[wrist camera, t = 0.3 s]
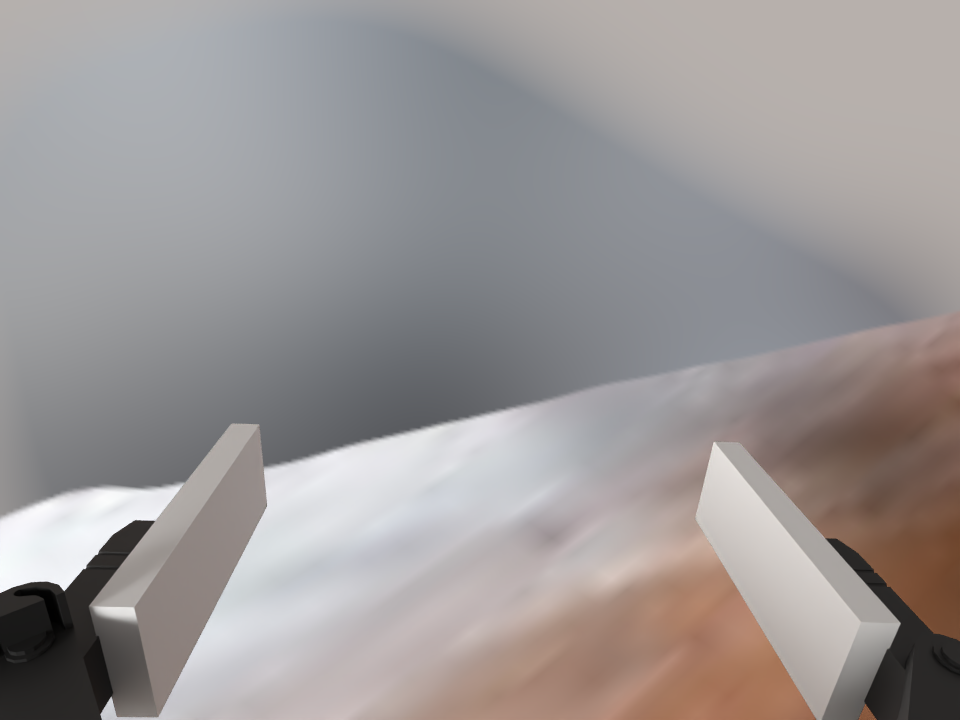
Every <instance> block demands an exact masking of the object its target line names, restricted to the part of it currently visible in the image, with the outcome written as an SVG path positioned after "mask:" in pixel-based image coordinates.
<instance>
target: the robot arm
mask: <svg viewBox="0 0 960 720" xmlns="http://www.w3.org/2000/svg"><path fill="white" fill-rule="evenodd" d="M266 507H267V500H266V490H265V479H264V469H263V458H262V448H261V438H260V427H259V425H256V424H231V425H230V426H229V428H228V429H227V430H226V432H225V433H224V434H223V435H222V437H221V438H220V439H219V440H218V442H217V443H216V444H215V445H214V447H213V448H212V449H211V451H210V452H209V453H208V454H207V456H206V457H205V458H204V460H203V461H202V462H201V463H200V465H199V466H198V467H197V469H196V470H195V471H194V472H193V474H192V475H191V476H190V477H189V479H188V480H187V481H186V483H185V484H184V485H183V486H182V488H181V489H180V490H179V492H178V493H177V494H176V495H175V497H174V498H173V499H172V501H171V502H170V503H169V504H168V506H167V507H166V508H165V509H164V511H163V512H162V513H161V515H160V516H159V517H158V518H157V520H156V521H141V520H135V521H133V522H132V523H130V524H129V525H127V526H126V527H124V528H123V529H121V530H120V531H118V532H117V533H115V534H114V535H112V537H111V538H110V539H109V540H108V541H107V542H106V544H105V545H104V546H103V547H102V548H101V549H100V551H99V553H98V555H95V556H94V558H93V559H92V560H91V561H90V562H89V563H88V565H87V567H86V569H83V570H82V572H81V573H80V574H79V575H78V576H77V577H76V579H75V580H74V581H73V582H72V583H71V584H70V586H69V587H68V588H67V589H66V590H65V591H63V590H62V588H61V587H60V586H59V585H57V584H54V583H50V582H31V583H27V584H23V585H20V586H16V587H13V588H10V589H8V590H6V591H4V592H2V593H0V720H102V719H101V715H100V714H101V712H102V710H103V709H104V707H105V706H106V704H107V702H108V701H109V699H110V698H111V696H112V699H113V703H114V707H115V711H116V715H117V717H158V716H159V715H160V713H161V711H162V709H163V707H164V705H165V703H166V701H167V699H168V697H169V695H170V693H171V691H172V689H173V687H174V685H175V683H176V682H177V680H178V678H179V676H180V674H181V672H182V670H183V668H184V666H185V664H186V662H187V660H188V658H189V656H190V654H191V652H192V651H193V649H194V647H195V645H196V643H197V641H198V639H199V637H200V635H201V633H202V631H203V629H204V627H205V625H206V623H207V621H208V619H209V618H210V616H211V614H212V612H213V610H214V608H215V606H216V604H217V602H218V600H219V598H220V596H221V594H222V592H223V590H224V588H225V587H226V585H227V583H228V581H229V579H230V577H231V575H232V573H233V571H234V569H235V567H236V565H237V563H238V561H239V559H240V557H241V556H242V554H243V552H244V550H245V548H246V546H247V544H248V542H249V540H250V538H251V536H252V534H253V532H254V530H255V528H256V526H257V524H258V523H259V521H260V519H261V517H262V515H263V513H264V511H265V509H266ZM695 519H696V521H697V522H698V524H699V526H700V527H701V529H702V531H703V532H704V534H705V536H706V537H707V539H708V541H709V542H710V544H711V546H712V547H713V549H714V551H715V552H716V554H717V556H718V557H719V559H720V561H721V562H722V564H723V566H724V567H725V569H726V571H727V572H728V574H729V575H730V577H731V579H732V580H733V582H734V584H735V585H736V587H737V589H738V590H739V592H740V594H741V595H742V597H743V599H744V600H745V602H746V604H747V605H748V607H749V609H750V610H751V612H752V614H753V615H754V617H755V619H756V620H757V622H758V624H759V625H760V627H761V629H762V630H763V632H764V633H765V635H766V637H767V638H768V640H769V642H770V643H771V645H772V647H773V648H774V650H775V652H776V653H777V655H778V657H779V658H780V660H781V662H782V663H783V665H784V667H785V668H786V670H787V672H788V673H789V675H790V677H791V678H792V680H793V682H794V683H795V685H796V686H797V688H798V690H799V691H800V693H801V695H802V696H803V698H804V700H805V701H806V703H807V705H808V706H809V708H810V710H811V711H812V713H813V715H814V716H815V718H816V720H858V719H859V716H860V714H861V712H862V710H863V707H864V705H865V703H866V705H867V706H868V708H869V709H870V711H871V712H872V713H873V715H874V716H875V718H876V719H877V720H960V641H958V640H956V639H953V638H950V637H947V636H944V635H941V634H933V632H932V631H931V630H930V629H929V628H928V627H927V626H926V625H925V624H924V623H923V622H922V621H921V620H920V619H919V618H918V616H917V615H916V614H915V613H914V612H913V611H912V610H911V609H910V608H909V607H908V606H907V605H906V604H905V603H904V602H903V601H902V599H901V598H900V597H899V596H898V595H897V594H896V593H895V592H894V591H893V590H892V589H891V588H890V587H887V585H886V582H885V581H884V580H883V579H882V578H881V577H880V576H879V575H878V574H877V573H874V570H873V569H872V568H871V566H870V565H869V564H868V563H867V562H866V561H865V560H864V559H863V558H862V557H861V556H860V555H859V554H858V553H857V552H855V551H854V550H852V549H851V548H849V547H848V546H847V545H845V544H844V543H842V542H841V541H839V540H838V539H827V538H824V537H823V536H822V534H821V533H820V532H819V531H818V530H817V529H816V528H815V527H814V525H813V524H812V523H811V522H810V521H809V520H808V519H807V518H806V516H805V515H804V514H803V513H802V512H801V511H800V510H799V509H798V508H797V506H796V505H795V504H794V503H793V502H792V501H791V500H790V499H789V497H788V496H787V495H786V494H785V493H784V492H783V491H782V490H781V488H780V487H779V486H778V485H777V484H776V483H775V482H774V481H773V480H772V478H771V477H770V476H769V475H768V474H767V473H766V472H765V471H764V469H763V468H762V467H761V466H760V465H759V464H758V463H757V462H756V460H755V459H754V458H753V457H752V456H751V455H750V454H749V453H748V451H747V450H746V449H745V448H744V447H743V446H742V445H741V444H740V443H739V442H715V441H714V443H713V447H712V452H711V456H710V460H709V464H708V468H707V472H706V476H705V480H704V485H703V489H702V493H701V497H700V501H699V505H698V509H697V513H696V518H695Z"/></svg>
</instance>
